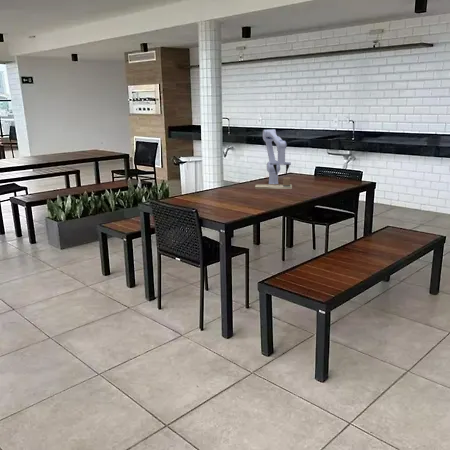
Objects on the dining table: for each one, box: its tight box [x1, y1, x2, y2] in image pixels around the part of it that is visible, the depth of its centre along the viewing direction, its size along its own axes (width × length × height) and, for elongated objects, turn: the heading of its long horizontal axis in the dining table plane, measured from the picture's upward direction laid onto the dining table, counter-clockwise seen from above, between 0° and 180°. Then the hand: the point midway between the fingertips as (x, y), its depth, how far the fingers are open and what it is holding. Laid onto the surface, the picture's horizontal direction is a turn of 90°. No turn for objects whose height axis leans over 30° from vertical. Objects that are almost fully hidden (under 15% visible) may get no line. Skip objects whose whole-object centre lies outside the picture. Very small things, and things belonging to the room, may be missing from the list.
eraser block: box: [282, 176, 291, 187], centre depth 366 cm, size 7×5×6 cm
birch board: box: [254, 184, 293, 190], centre depth 368 cm, size 10×28×2 cm, turn 84°
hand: (281, 174), depth 371 cm, fingers open, 7 cm apart
